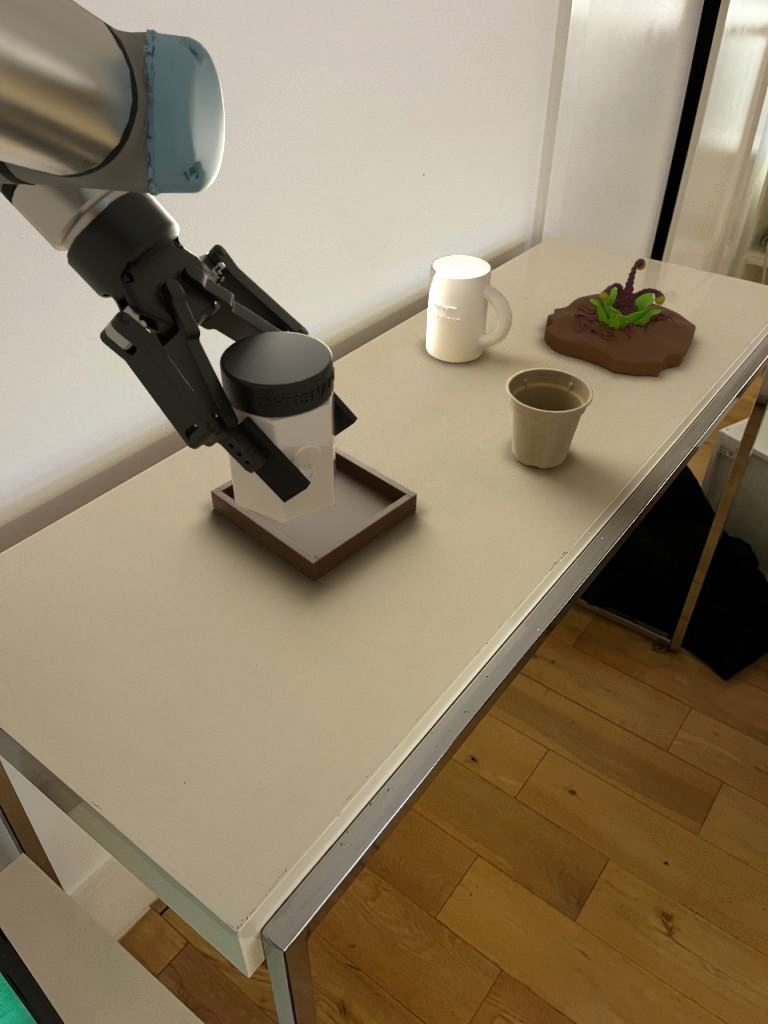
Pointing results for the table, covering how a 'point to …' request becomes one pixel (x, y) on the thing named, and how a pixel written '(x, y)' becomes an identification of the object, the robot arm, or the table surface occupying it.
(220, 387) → the robot arm
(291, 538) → the tray
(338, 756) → the table surface
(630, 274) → the plant
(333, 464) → the jar
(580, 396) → the flower pot
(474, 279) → the mug
